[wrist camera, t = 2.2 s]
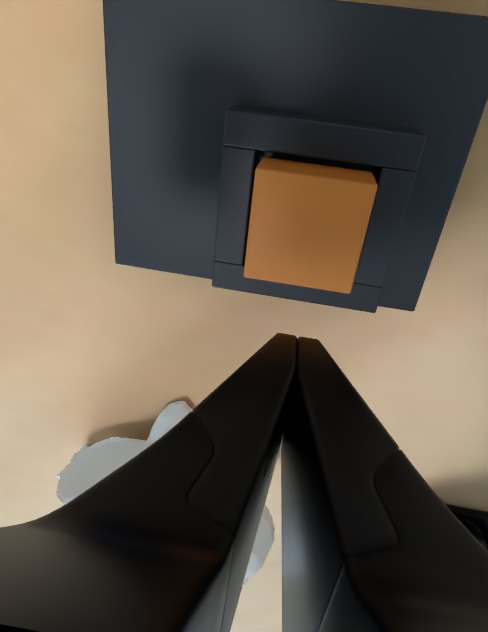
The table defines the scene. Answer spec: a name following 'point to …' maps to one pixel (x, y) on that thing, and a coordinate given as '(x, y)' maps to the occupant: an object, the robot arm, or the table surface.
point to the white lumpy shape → (118, 451)
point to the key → (308, 223)
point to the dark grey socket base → (287, 128)
